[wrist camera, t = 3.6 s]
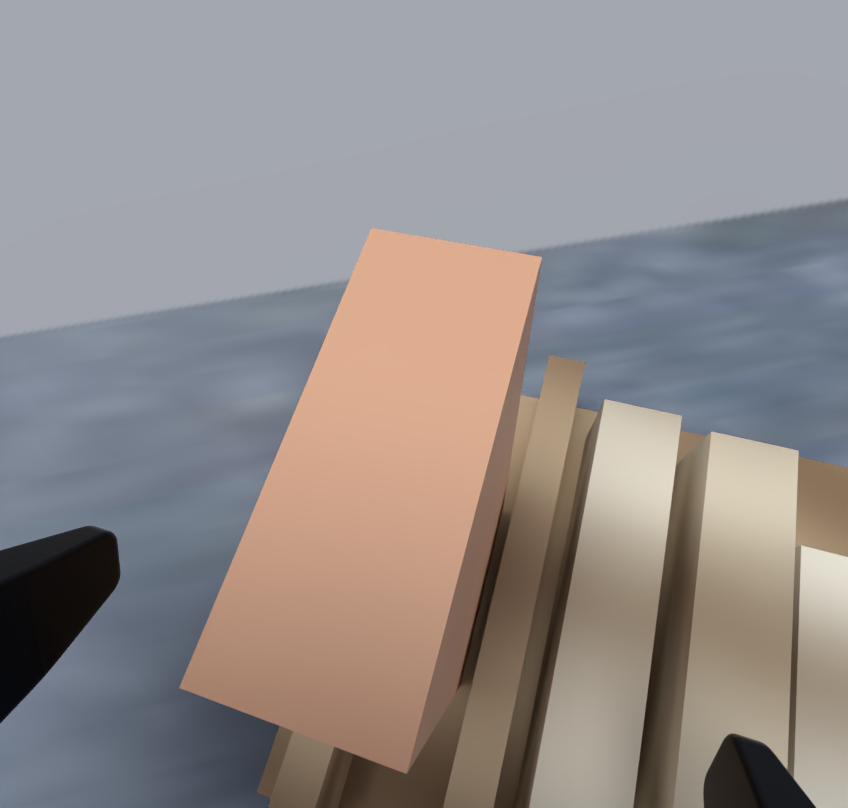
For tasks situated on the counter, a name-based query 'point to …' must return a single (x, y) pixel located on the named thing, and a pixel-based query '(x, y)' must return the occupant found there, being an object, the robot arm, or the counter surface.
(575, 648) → the offcut rack
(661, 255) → the counter surface
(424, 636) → the tall panel
